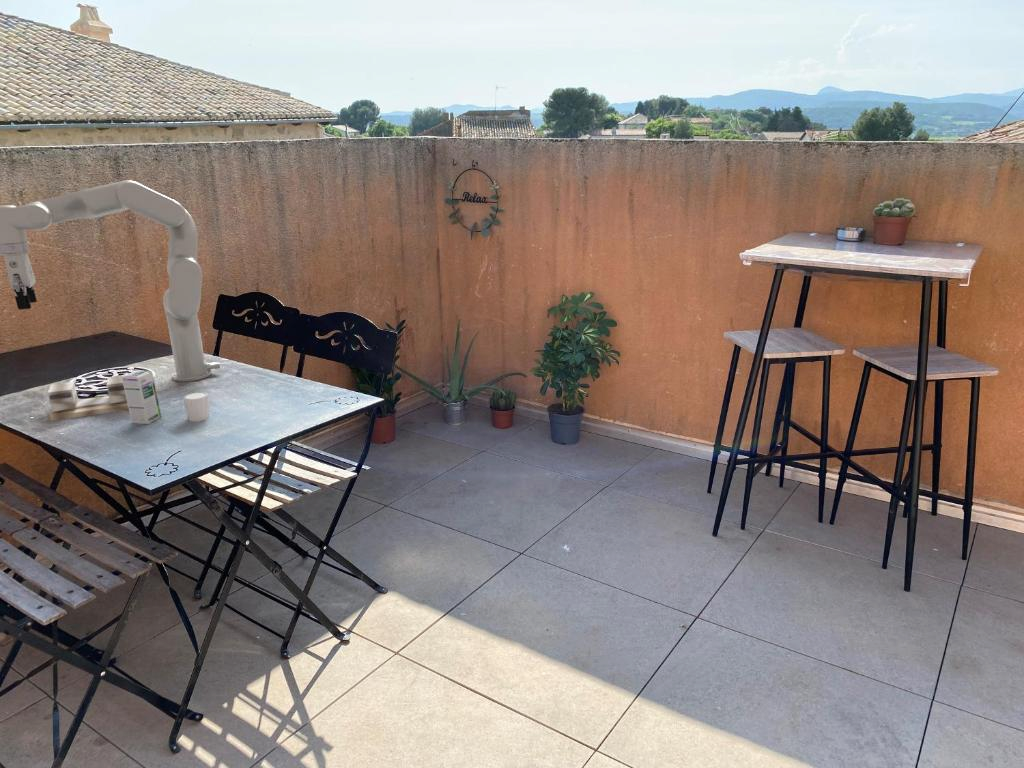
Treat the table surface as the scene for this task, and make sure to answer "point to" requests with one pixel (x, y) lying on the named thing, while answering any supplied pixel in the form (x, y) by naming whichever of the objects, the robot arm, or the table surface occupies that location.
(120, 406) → the rail board
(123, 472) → the table surface
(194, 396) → the shot glass
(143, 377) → the syrup box
